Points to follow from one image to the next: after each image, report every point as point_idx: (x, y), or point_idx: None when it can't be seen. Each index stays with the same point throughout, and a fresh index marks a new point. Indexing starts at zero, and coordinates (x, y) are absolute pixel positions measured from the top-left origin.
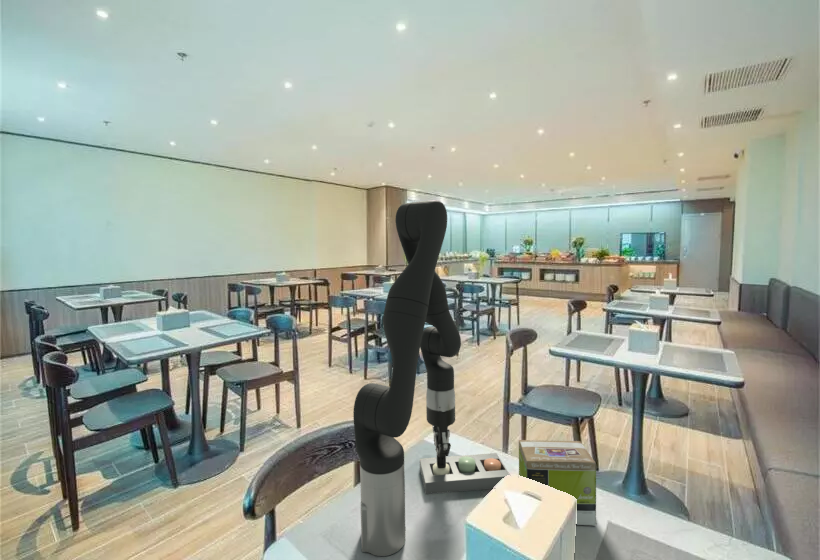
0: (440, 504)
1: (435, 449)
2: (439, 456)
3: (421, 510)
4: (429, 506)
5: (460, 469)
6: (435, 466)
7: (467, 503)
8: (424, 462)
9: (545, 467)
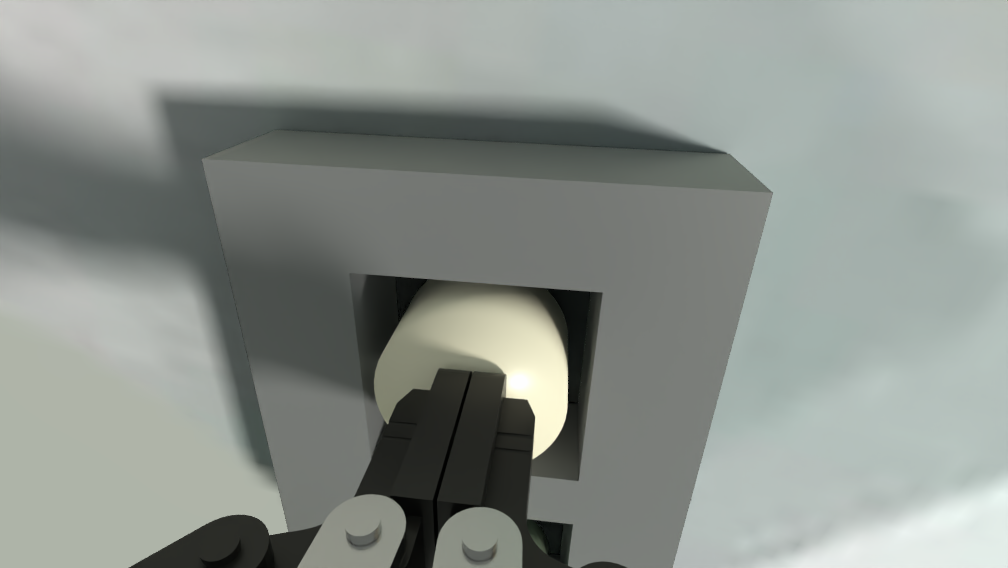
0: (155, 228)
1: (492, 532)
2: (202, 535)
3: (44, 40)
4: (113, 129)
5: None
6: (483, 347)
7: (193, 407)
8: (650, 239)
9: None
